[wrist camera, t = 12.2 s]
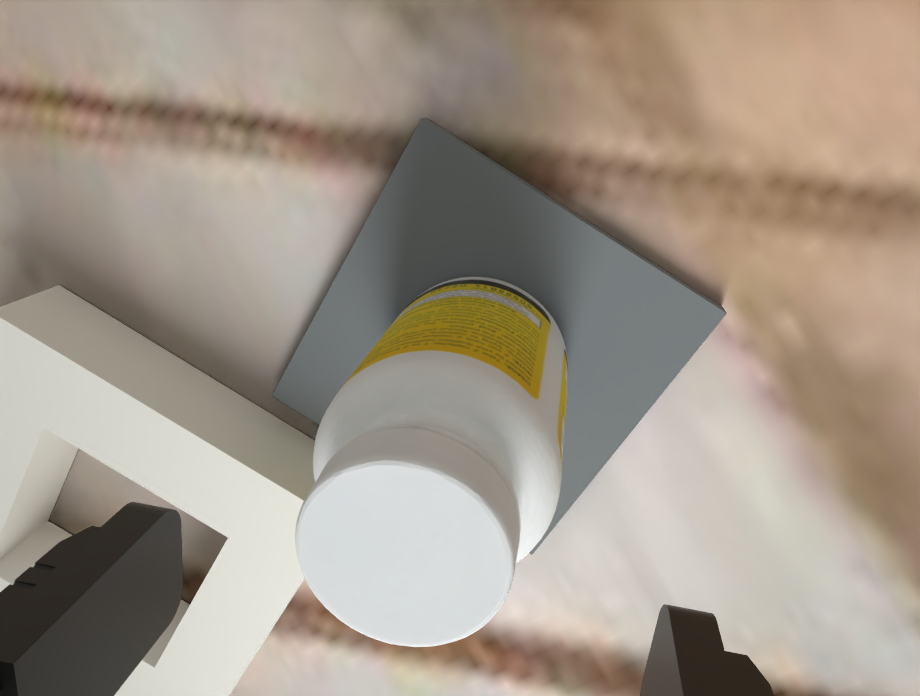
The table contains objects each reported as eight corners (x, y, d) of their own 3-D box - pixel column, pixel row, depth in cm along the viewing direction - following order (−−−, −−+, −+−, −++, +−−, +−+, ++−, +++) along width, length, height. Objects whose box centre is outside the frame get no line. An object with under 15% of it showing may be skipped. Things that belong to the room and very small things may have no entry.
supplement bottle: (360, 314, 22) (200, 475, 13) (525, 243, 20) (478, 368, 11) (437, 463, 23) (342, 707, 14) (596, 407, 21) (607, 640, 12)
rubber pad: (533, 543, 24) (532, 554, 24) (279, 389, 24) (271, 395, 23) (722, 307, 20) (726, 313, 20) (426, 117, 20) (421, 118, 19)
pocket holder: (231, 687, 29) (193, 751, 26) (-33, 532, 28) (-100, 581, 25) (367, 472, 24) (340, 522, 21) (59, 284, 24) (-11, 310, 21)
